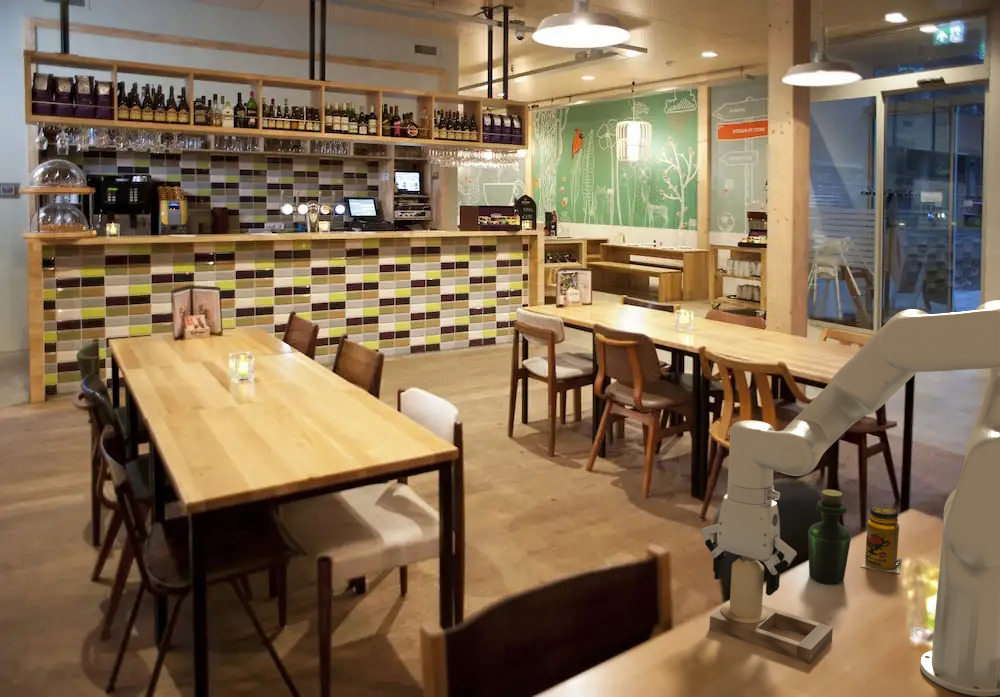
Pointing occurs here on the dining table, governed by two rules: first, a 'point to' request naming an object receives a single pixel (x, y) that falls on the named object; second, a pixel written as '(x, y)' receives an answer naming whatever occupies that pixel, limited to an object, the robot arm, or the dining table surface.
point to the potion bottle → (829, 541)
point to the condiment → (882, 540)
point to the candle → (746, 587)
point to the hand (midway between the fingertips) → (745, 584)
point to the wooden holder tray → (759, 635)
